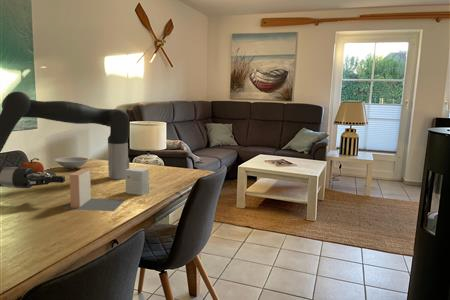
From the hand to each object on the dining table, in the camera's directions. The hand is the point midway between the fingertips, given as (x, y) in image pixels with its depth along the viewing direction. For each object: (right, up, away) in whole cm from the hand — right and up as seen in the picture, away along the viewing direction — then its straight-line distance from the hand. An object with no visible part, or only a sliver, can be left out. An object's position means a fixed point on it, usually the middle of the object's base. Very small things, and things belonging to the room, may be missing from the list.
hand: (64, 179), depth 127 cm
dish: (-23, +1, +60) cm, 65 cm away
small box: (+22, -8, +18) cm, 30 cm away
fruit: (-31, -3, +36) cm, 48 cm away
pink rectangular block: (+6, -9, +1) cm, 11 cm away
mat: (+11, -10, +1) cm, 15 cm away
